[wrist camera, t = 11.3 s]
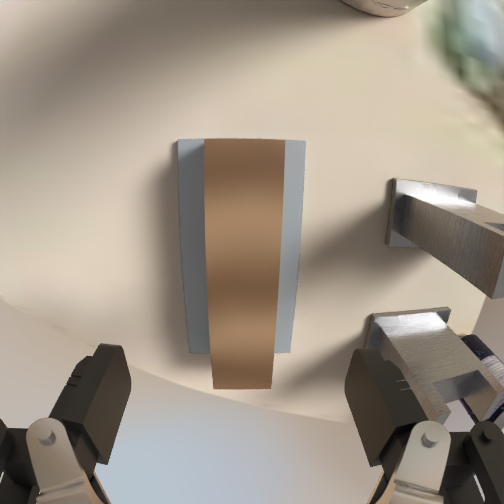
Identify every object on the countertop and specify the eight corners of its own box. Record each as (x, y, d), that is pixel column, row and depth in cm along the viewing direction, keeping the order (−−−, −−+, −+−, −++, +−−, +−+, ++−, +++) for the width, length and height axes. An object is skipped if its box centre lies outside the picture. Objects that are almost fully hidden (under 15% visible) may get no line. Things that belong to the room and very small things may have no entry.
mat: (179, 139, 19) (178, 139, 18) (303, 141, 19) (305, 141, 18) (190, 348, 24) (190, 352, 23) (288, 348, 24) (290, 352, 24)
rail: (211, 139, 18) (204, 138, 14) (275, 140, 18) (285, 140, 15) (216, 354, 24) (213, 389, 20) (266, 354, 24) (270, 388, 20)
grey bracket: (372, 313, 24) (435, 407, 13) (447, 306, 24) (517, 377, 14) (360, 360, 25) (406, 455, 15) (433, 349, 26) (488, 423, 15)
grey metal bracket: (393, 178, 20) (502, 215, 10) (472, 189, 20) (572, 226, 10) (385, 244, 22) (475, 319, 11) (463, 245, 22) (551, 302, 12)
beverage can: (426, 372, 27) (479, 453, 16) (451, 328, 25) (520, 405, 14) (458, 371, 28) (509, 440, 16) (482, 331, 26) (544, 396, 15)
